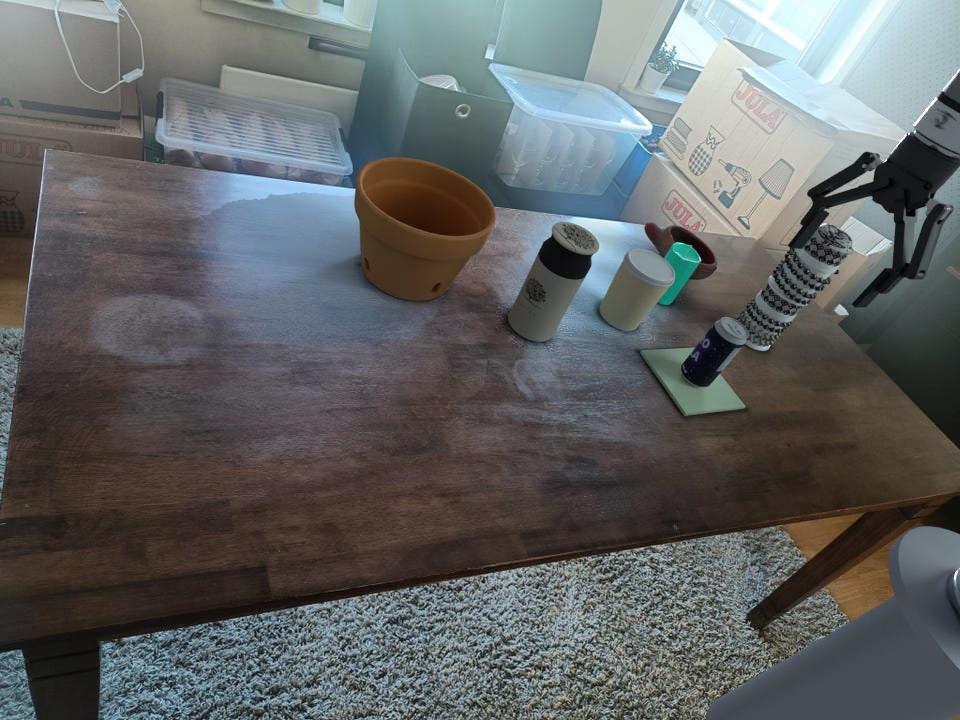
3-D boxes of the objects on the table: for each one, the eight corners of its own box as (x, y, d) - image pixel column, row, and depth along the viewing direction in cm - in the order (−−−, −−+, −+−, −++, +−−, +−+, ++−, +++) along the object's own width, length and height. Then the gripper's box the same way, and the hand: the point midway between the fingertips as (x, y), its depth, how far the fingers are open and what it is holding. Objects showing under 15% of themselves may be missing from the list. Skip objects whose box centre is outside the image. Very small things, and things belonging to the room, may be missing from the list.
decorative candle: (740, 314, 129) (823, 212, 113) (778, 343, 126) (868, 242, 109) (721, 327, 123) (806, 221, 107) (760, 358, 120) (853, 253, 103)
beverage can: (697, 365, 110) (737, 315, 102) (714, 390, 106) (757, 340, 98) (672, 365, 107) (711, 314, 99) (688, 390, 104) (731, 339, 96)
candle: (648, 280, 126) (680, 231, 119) (675, 296, 126) (708, 247, 118) (641, 293, 122) (673, 243, 114) (668, 309, 121) (703, 260, 113)
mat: (743, 408, 106) (746, 406, 106) (684, 416, 100) (686, 413, 99) (697, 349, 114) (699, 347, 114) (639, 352, 108) (641, 350, 107)
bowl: (681, 252, 140) (701, 222, 135) (714, 290, 133) (736, 260, 128) (626, 249, 133) (644, 217, 127) (657, 289, 125) (679, 257, 120)
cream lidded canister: (647, 318, 116) (681, 267, 108) (634, 342, 109) (670, 290, 102) (603, 292, 118) (634, 240, 110) (588, 314, 111) (620, 261, 103)
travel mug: (538, 308, 107) (583, 220, 95) (561, 341, 103) (611, 253, 91) (499, 310, 103) (541, 219, 91) (520, 345, 99) (568, 253, 87)
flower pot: (314, 243, 99) (329, 159, 90) (418, 225, 113) (441, 150, 103) (388, 330, 91) (413, 248, 81) (491, 300, 104) (523, 226, 95)
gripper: (849, 93, 85) (755, 224, 99) (1010, 198, 70) (873, 334, 84) (880, 101, 89) (785, 226, 102) (1039, 202, 74) (903, 332, 88)
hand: (825, 275), depth 93 cm, fingers open, 13 cm apart
